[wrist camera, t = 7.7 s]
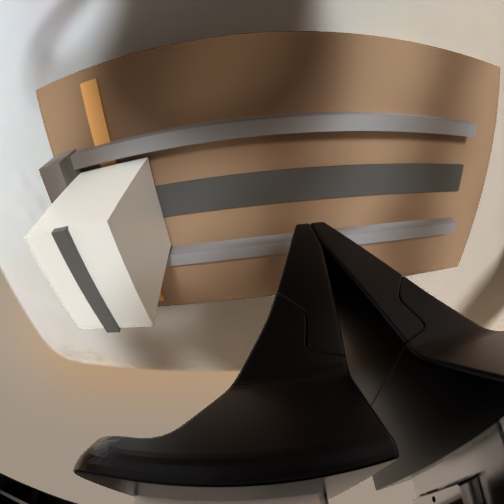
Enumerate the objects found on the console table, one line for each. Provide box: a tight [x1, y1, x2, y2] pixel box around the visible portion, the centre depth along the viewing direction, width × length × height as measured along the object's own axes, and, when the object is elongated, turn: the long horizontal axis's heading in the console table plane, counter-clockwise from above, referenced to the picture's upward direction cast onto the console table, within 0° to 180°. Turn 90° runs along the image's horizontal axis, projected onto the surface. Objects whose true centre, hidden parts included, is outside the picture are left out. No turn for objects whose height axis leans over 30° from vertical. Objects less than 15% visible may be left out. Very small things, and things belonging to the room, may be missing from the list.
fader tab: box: [24, 157, 171, 332], centre depth 10 cm, size 3×4×5 cm
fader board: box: [36, 31, 500, 306], centre depth 12 cm, size 20×12×3 cm, turn 95°
